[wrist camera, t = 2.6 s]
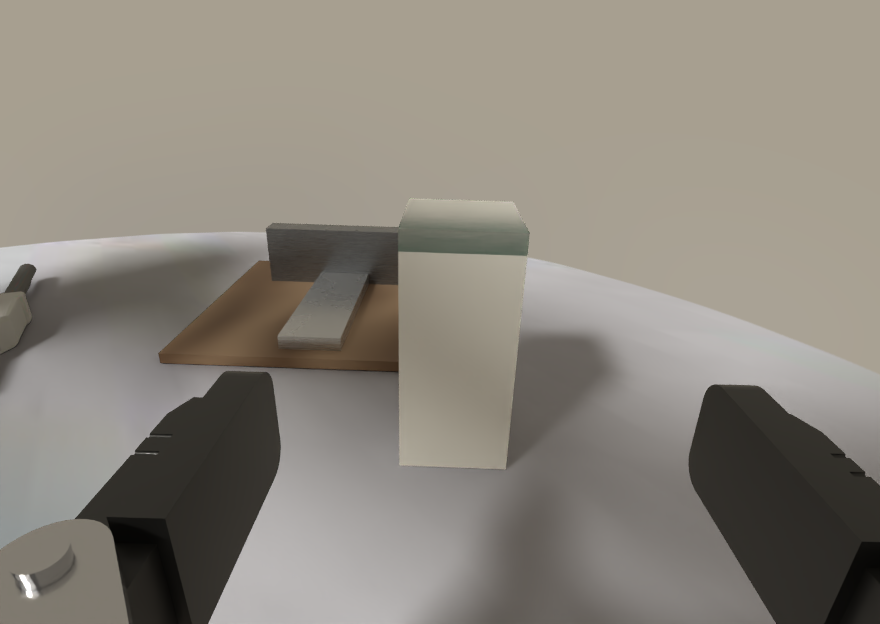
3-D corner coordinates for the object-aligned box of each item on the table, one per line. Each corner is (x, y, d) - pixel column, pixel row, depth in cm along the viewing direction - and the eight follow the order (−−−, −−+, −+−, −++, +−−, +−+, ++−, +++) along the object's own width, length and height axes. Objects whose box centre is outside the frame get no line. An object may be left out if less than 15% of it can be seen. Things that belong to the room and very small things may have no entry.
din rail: (278, 348, 29) (277, 336, 29) (331, 267, 42) (331, 257, 41) (341, 350, 29) (340, 338, 29) (375, 268, 42) (375, 259, 41)
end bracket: (271, 280, 39) (266, 228, 37) (278, 273, 40) (272, 223, 38) (419, 285, 38) (419, 233, 37) (420, 278, 40) (420, 228, 38)
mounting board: (160, 362, 28) (158, 353, 28) (259, 267, 43) (259, 260, 43) (452, 373, 28) (452, 363, 28) (452, 274, 43) (452, 267, 43)
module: (399, 465, 21) (398, 228, 17) (408, 398, 26) (409, 198, 22) (505, 469, 21) (529, 233, 17) (496, 401, 26) (513, 201, 22)
